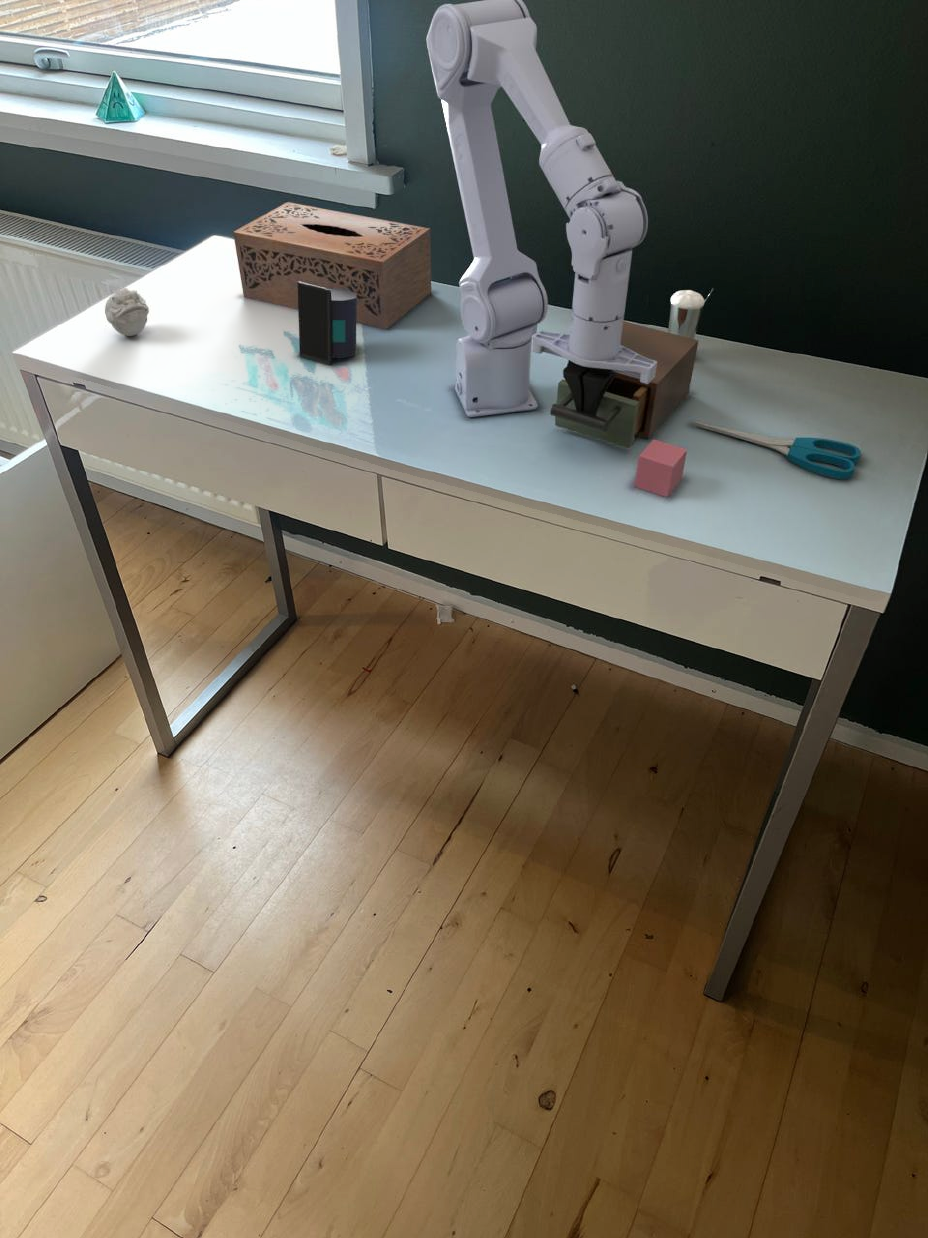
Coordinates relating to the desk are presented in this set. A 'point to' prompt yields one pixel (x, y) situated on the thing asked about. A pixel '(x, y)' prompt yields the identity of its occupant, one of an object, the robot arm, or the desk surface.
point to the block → (660, 468)
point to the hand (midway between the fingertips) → (586, 420)
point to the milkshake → (685, 313)
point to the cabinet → (661, 370)
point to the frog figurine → (127, 312)
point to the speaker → (326, 323)
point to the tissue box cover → (335, 260)
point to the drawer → (606, 412)
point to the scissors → (804, 451)
